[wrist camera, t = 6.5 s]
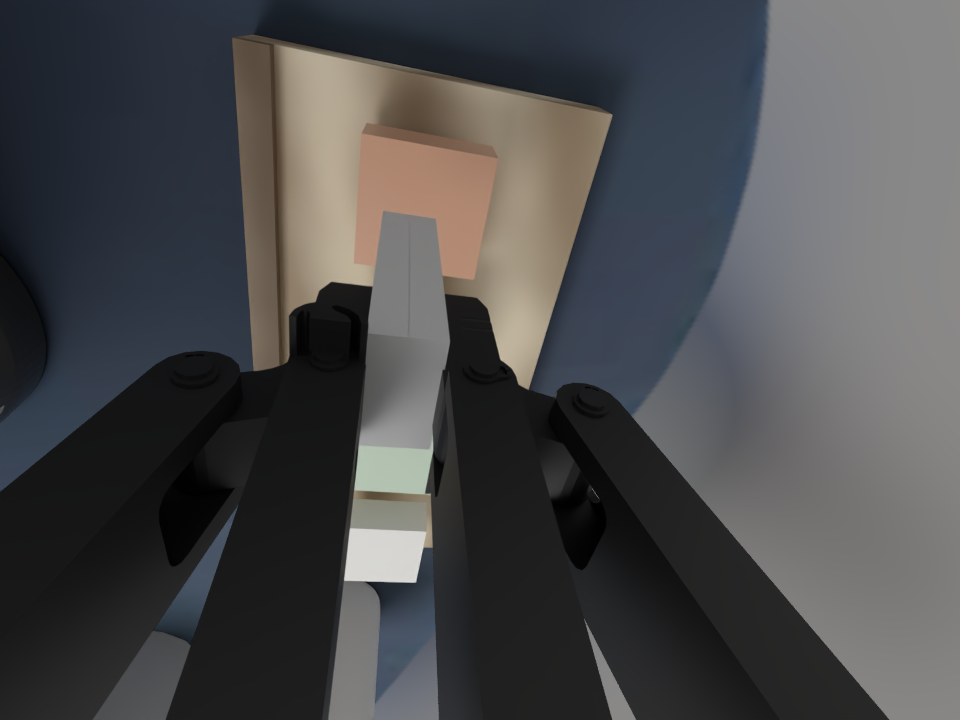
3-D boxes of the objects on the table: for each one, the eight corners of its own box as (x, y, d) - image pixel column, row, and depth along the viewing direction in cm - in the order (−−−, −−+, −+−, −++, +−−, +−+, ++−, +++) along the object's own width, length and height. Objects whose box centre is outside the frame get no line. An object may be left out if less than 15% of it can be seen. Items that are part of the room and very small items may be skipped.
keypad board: (275, 515, 34) (265, 549, 32) (253, 34, 19) (231, 37, 17) (477, 525, 37) (480, 557, 35) (598, 107, 22) (617, 117, 20)
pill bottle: (399, 609, 42) (389, 854, 30) (313, 635, 43) (270, 882, 31) (351, 558, 38) (317, 822, 26) (258, 588, 39) (181, 855, 27)
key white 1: (338, 550, 31) (333, 580, 30) (341, 497, 29) (336, 527, 27) (416, 553, 32) (416, 582, 30) (426, 502, 29) (426, 531, 28)
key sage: (345, 461, 29) (340, 489, 27) (349, 395, 26) (344, 421, 24) (430, 467, 29) (430, 494, 28) (442, 403, 27) (443, 429, 25)
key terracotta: (359, 244, 22) (353, 263, 20) (366, 122, 19) (361, 133, 17) (470, 260, 22) (473, 279, 21) (492, 146, 20) (498, 158, 18)
